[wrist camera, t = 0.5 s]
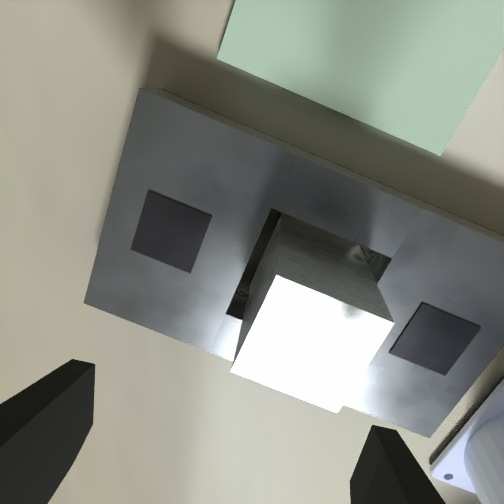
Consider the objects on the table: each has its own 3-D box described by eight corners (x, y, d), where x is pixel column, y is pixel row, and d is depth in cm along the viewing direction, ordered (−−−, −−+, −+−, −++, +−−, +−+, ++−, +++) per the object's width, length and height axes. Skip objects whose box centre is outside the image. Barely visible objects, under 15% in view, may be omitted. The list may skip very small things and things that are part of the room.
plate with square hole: (529, 246, 18) (566, 270, 15) (414, 401, 22) (430, 439, 19) (160, 89, 17) (138, 87, 14) (106, 280, 21) (82, 303, 18)
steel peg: (359, 244, 19) (394, 322, 12) (322, 311, 20) (336, 412, 14) (281, 212, 18) (276, 275, 12) (250, 282, 20) (230, 371, 13)
